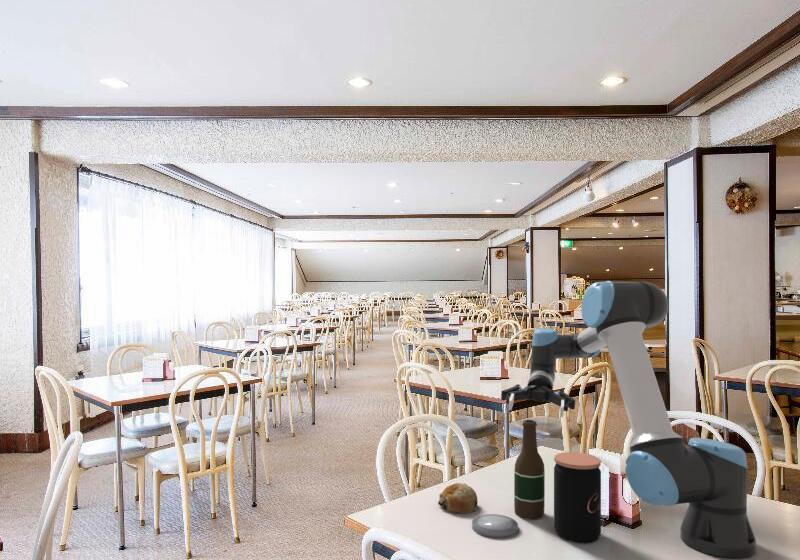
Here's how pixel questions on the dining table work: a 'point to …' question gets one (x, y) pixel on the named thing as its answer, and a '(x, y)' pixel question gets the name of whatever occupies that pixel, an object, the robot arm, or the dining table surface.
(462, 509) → the bread roll
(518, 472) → the beer bottle
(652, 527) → the dining table surface
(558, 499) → the coffee jar
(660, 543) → the dining table surface
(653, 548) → the dining table surface
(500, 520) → the dish
